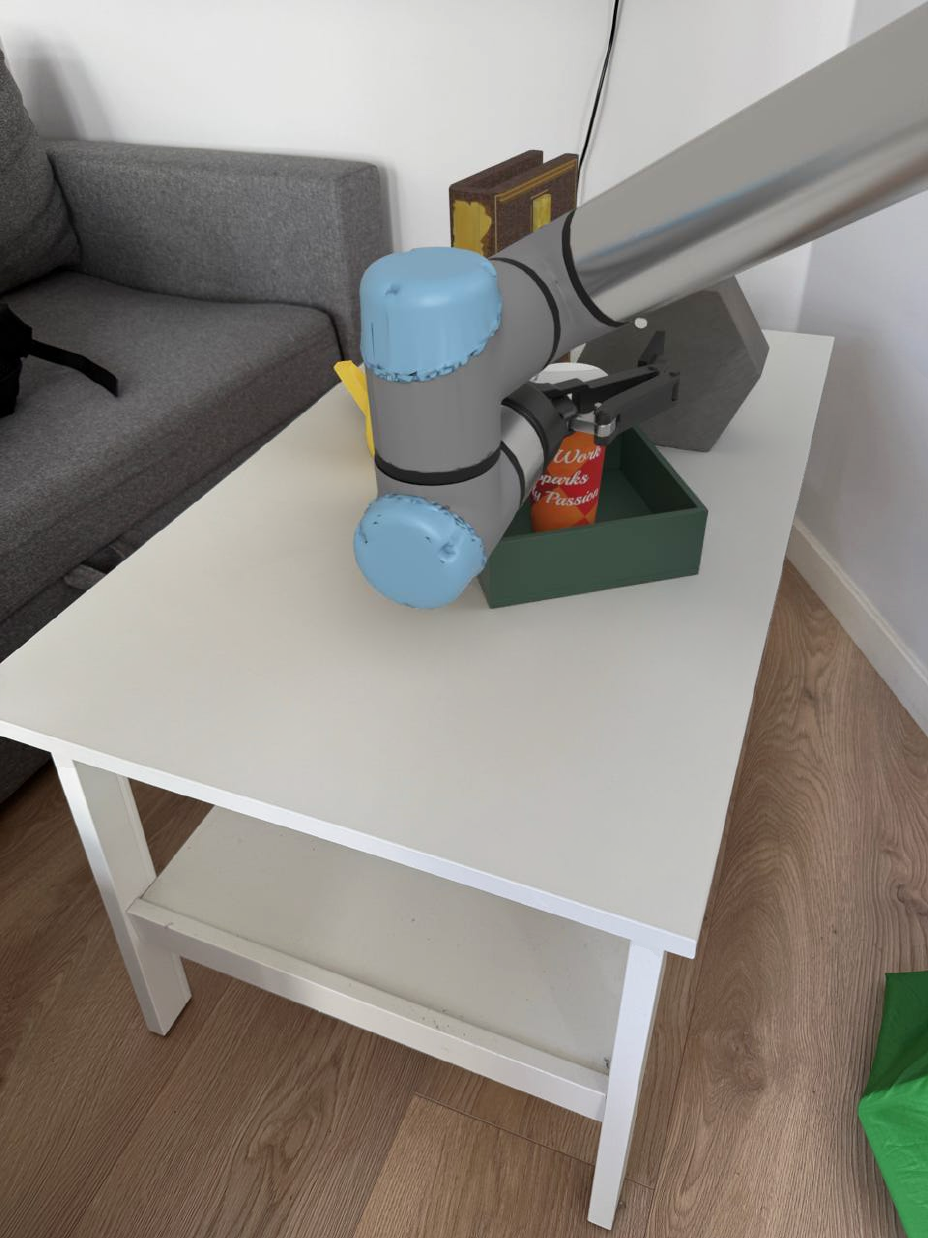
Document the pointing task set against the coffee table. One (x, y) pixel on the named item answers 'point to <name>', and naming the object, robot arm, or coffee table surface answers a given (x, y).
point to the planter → (693, 361)
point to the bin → (605, 534)
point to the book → (512, 202)
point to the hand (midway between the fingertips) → (582, 337)
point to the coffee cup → (568, 466)
